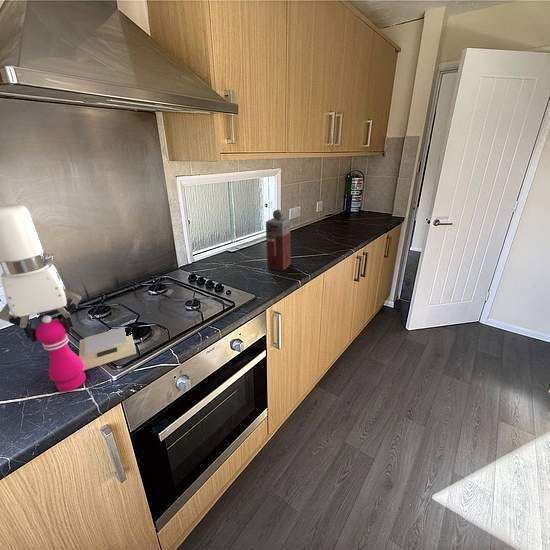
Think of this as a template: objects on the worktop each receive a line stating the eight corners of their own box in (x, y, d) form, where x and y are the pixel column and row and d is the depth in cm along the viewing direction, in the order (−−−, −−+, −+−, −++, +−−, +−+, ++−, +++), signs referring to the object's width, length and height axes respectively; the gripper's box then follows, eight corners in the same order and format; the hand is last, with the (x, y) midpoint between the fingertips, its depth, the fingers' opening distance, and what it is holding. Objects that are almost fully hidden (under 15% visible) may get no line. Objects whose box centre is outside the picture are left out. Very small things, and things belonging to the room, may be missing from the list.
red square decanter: (265, 269, 143) (262, 212, 132) (274, 261, 152) (273, 207, 141) (282, 272, 140) (280, 213, 129) (290, 264, 149) (290, 208, 138)
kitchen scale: (81, 371, 79) (77, 362, 78) (81, 346, 90) (79, 338, 89) (136, 353, 86) (134, 345, 85) (131, 332, 96) (129, 324, 95)
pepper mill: (90, 370, 80) (67, 305, 72) (85, 388, 74) (59, 320, 66) (59, 377, 77) (32, 312, 70) (51, 397, 71) (20, 327, 63)
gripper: (73, 251, 70) (94, 316, 77) (-23, 267, 62) (10, 338, 69) (71, 260, 64) (94, 330, 71) (-35, 279, 56) (2, 355, 63)
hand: (52, 333), depth 70 cm, fingers open, 6 cm apart
